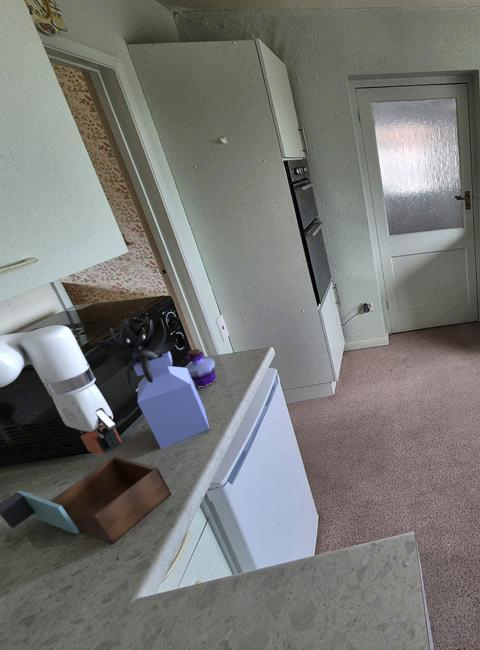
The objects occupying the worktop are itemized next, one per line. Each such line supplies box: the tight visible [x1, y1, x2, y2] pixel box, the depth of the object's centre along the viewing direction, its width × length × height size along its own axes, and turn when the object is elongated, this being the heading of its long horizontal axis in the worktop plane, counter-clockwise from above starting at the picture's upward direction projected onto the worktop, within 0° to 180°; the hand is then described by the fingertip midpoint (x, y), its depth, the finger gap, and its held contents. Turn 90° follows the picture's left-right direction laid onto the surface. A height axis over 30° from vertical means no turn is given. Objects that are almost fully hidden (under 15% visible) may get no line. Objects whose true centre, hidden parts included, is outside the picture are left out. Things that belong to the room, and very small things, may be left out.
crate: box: [50, 455, 172, 545], centre depth 78 cm, size 12×14×8 cm
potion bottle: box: [184, 348, 216, 386], centre depth 121 cm, size 9×9×12 cm
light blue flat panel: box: [0, 490, 81, 535], centre depth 74 cm, size 4×14×8 cm, turn 72°
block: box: [80, 426, 123, 456], centre depth 89 cm, size 4×4×4 cm
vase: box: [93, 306, 210, 450], centre depth 94 cm, size 14×12×35 cm
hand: (105, 445), depth 90 cm, fingers closed on block, 4 cm apart
